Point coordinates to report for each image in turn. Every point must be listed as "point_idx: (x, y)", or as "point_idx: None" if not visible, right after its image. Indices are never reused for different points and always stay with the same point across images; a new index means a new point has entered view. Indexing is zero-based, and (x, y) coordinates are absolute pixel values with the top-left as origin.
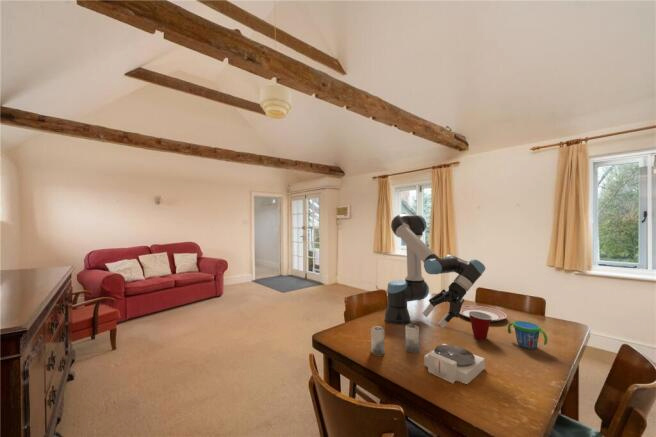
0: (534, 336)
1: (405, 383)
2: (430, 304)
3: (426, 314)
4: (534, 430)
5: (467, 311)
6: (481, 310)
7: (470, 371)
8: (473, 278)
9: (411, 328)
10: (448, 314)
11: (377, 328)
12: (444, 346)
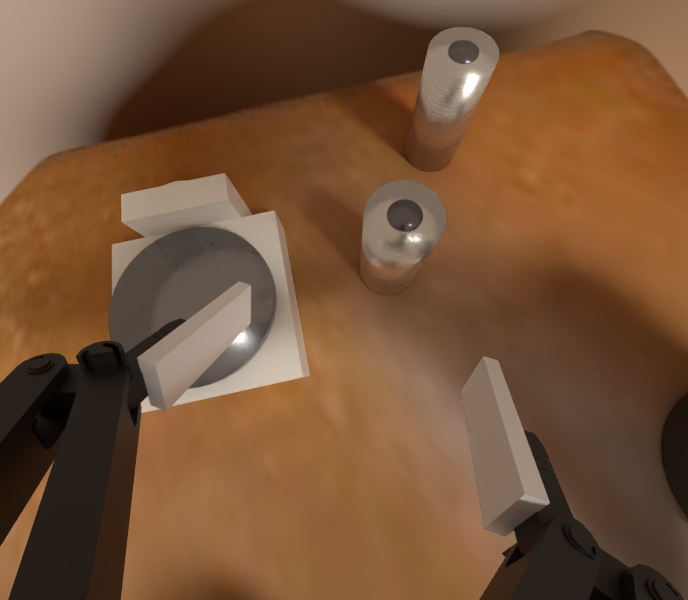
0: None
1: (249, 123)
2: (523, 478)
3: (472, 393)
4: None
5: None
6: None
7: (114, 277)
8: None
9: (384, 195)
10: (147, 363)
11: (463, 50)
12: (254, 320)
